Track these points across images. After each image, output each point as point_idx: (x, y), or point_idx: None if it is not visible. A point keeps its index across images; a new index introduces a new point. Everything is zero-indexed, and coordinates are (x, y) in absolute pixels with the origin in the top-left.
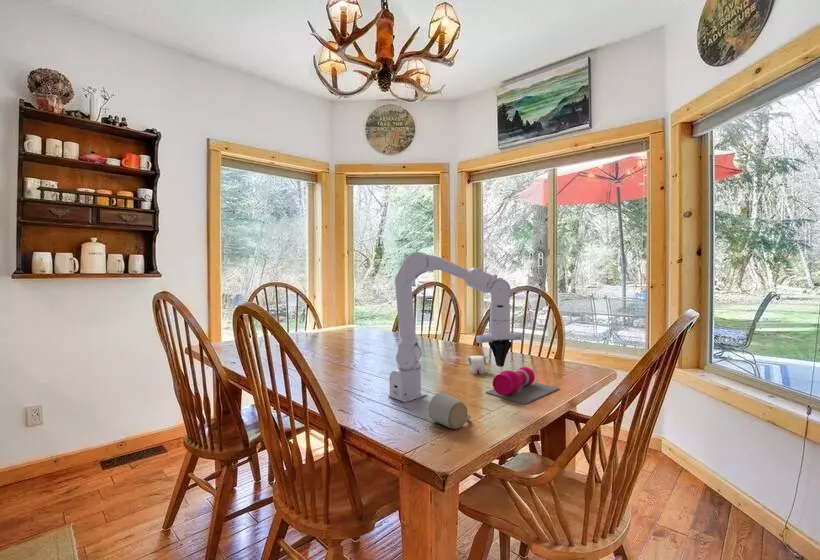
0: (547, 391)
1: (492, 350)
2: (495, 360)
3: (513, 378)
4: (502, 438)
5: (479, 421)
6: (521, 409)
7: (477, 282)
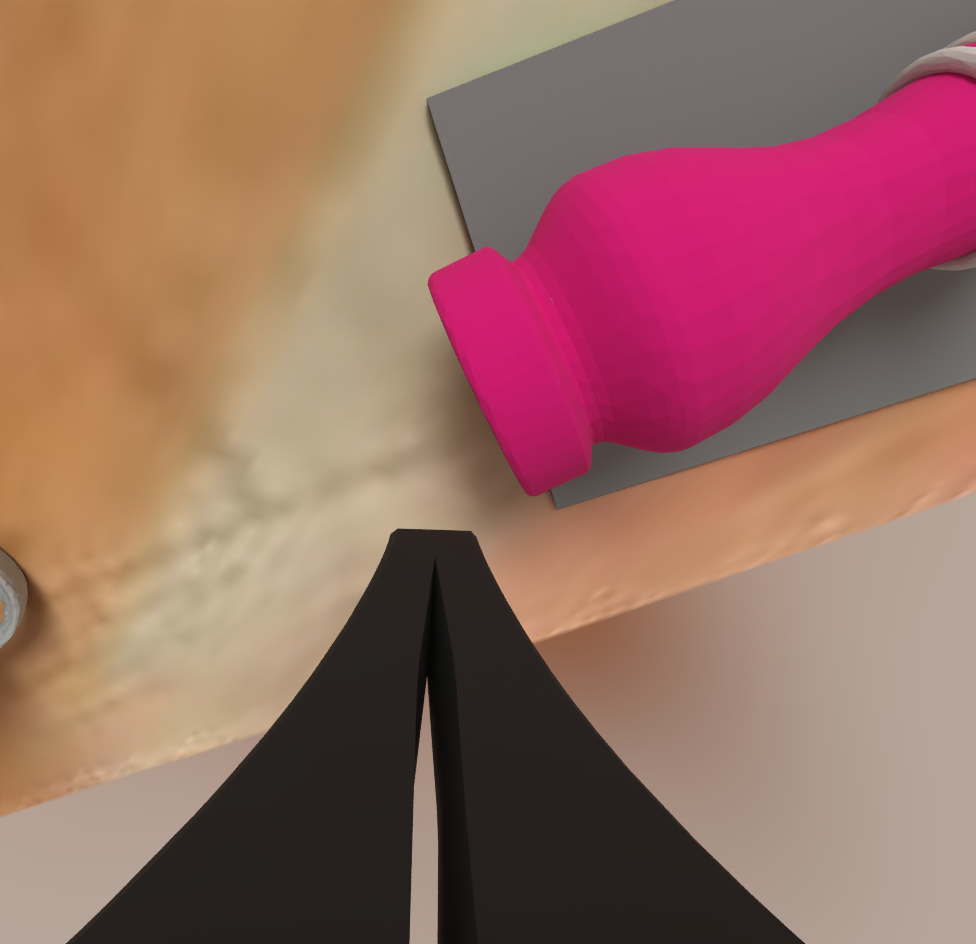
0: (925, 374)
1: (242, 791)
2: (373, 582)
3: (632, 444)
4: (162, 761)
5: (106, 611)
6: None
7: None
